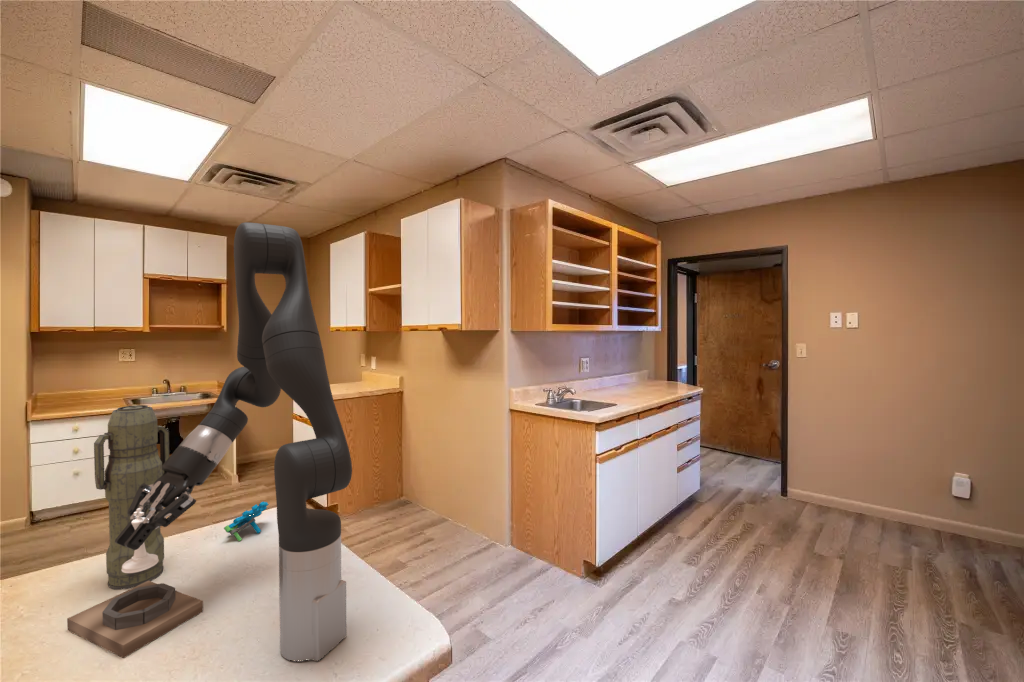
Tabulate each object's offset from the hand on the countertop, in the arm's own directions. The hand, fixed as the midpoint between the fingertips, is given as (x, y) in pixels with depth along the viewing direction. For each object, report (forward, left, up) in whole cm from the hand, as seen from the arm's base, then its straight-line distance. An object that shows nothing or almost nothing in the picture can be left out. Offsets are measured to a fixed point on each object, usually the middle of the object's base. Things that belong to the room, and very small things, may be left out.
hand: (125, 545), depth 74 cm
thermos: (+16, -10, -15) cm, 24 cm away
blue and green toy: (+14, -32, -15) cm, 38 cm away
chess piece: (0, -2, -5) cm, 5 cm away
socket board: (+1, -2, -14) cm, 15 cm away
